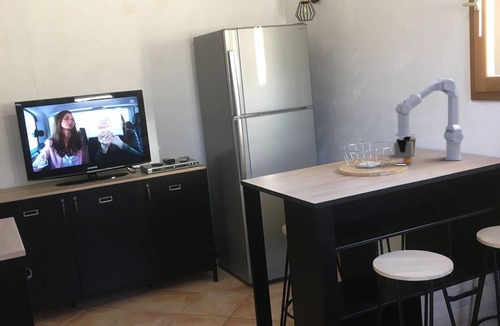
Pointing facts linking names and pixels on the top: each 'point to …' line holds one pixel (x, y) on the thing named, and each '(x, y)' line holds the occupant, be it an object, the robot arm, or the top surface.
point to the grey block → (408, 150)
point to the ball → (407, 160)
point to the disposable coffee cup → (413, 138)
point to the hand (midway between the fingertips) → (403, 151)
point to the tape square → (404, 163)
